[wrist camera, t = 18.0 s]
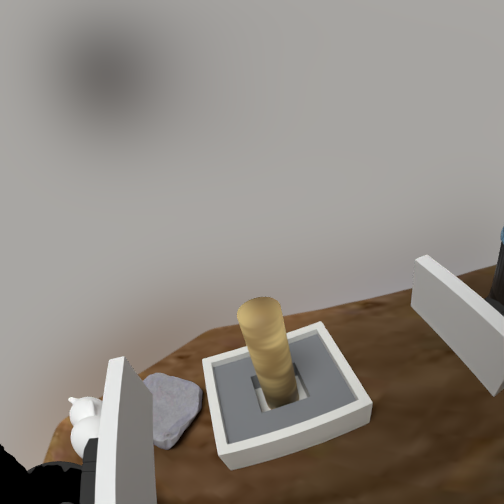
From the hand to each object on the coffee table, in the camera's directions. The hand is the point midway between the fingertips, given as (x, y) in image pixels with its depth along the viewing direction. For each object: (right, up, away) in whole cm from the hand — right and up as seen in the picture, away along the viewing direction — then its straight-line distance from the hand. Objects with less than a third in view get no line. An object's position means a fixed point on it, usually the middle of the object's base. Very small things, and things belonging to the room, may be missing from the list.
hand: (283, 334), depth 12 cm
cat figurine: (-22, -25, +24) cm, 41 cm away
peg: (+3, -16, +26) cm, 30 cm away
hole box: (+3, -17, +26) cm, 31 cm away
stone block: (-13, -21, +27) cm, 37 cm away
